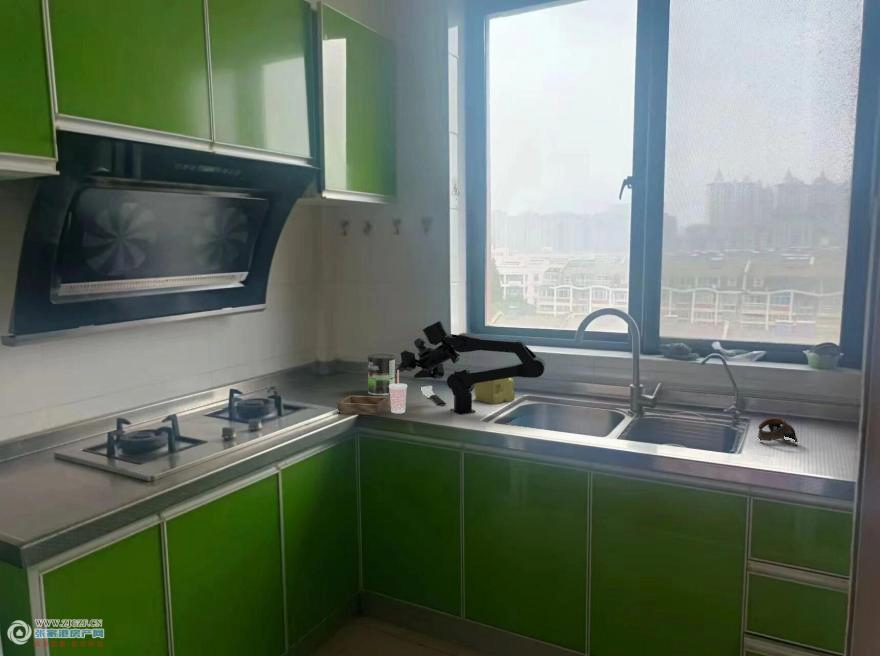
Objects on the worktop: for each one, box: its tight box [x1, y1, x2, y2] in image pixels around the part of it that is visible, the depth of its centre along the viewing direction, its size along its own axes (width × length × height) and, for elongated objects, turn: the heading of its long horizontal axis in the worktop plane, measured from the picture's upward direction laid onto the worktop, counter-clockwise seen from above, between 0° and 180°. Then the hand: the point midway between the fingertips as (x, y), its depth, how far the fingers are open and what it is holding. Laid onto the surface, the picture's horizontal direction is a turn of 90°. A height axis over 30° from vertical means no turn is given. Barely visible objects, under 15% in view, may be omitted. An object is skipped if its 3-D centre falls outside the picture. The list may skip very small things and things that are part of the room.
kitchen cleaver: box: [420, 385, 447, 407], centre depth 235 cm, size 31×2×10 cm
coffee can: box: [367, 353, 396, 396], centre depth 241 cm, size 10×10×14 cm
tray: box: [336, 394, 390, 416], centre depth 214 cm, size 14×12×3 cm
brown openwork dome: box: [757, 417, 799, 443], centre depth 179 cm, size 12×10×8 cm
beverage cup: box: [389, 370, 408, 414], centre depth 212 cm, size 6×6×14 cm
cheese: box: [474, 377, 516, 405], centre depth 230 cm, size 10×11×10 cm
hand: (405, 374), depth 221 cm, fingers open, 9 cm apart
